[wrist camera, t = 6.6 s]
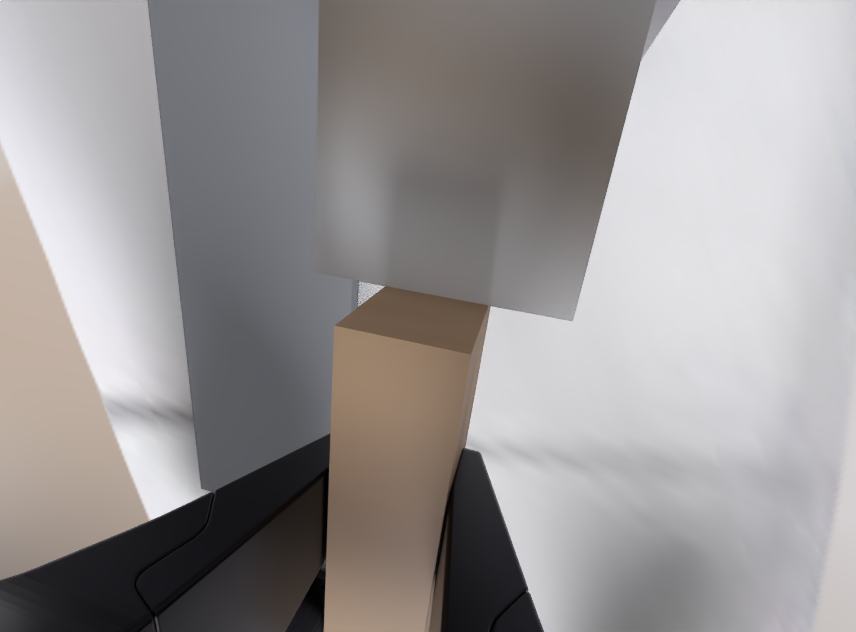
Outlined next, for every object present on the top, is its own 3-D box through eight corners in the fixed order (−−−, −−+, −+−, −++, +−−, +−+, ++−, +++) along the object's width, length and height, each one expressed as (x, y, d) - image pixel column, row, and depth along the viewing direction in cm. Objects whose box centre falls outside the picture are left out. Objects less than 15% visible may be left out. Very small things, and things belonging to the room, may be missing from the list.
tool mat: (345, 522, 21) (340, 531, 20) (209, 480, 22) (201, 488, 22) (373, 0, 13) (366, -8, 12) (160, -10, 14) (145, -17, 14)
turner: (497, 589, 11) (484, 731, 8) (324, 534, 12) (260, 644, 9) (670, -88, 6) (790, -319, 3) (343, -89, 7) (211, -269, 4)
